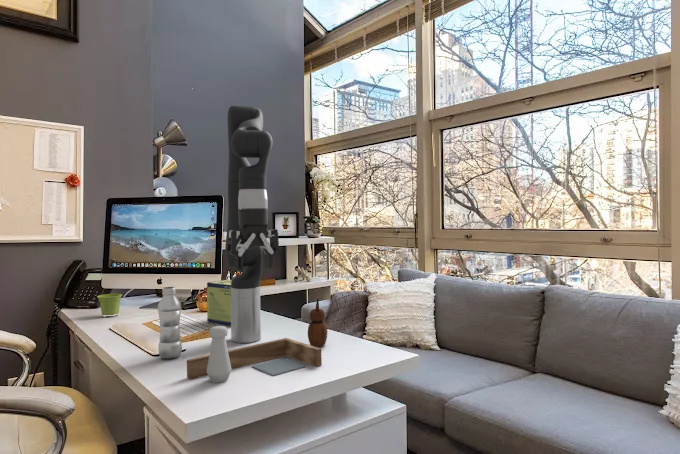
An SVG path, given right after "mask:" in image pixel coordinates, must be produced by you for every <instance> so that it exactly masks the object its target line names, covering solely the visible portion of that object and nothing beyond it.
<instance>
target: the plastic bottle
mask: <svg viewBox="0 0 680 454" xmlns="http://www.w3.org/2000/svg"><path fill="white" fill-rule="evenodd" d="M161 294H162V298H161V299H160V300H159V302H158V304H157V312H158V318H159V329H160V330H159V343H158V346H157V347H158V348H157V350H158V355H159V357H160V358H161V359H174V358H179V357H180V355H181V354H182V351H183V343H182V340H181V327H180V322H181V312H182V311H181V310H182V304H181V301H180V299H179V298H178V297H177V296H176V295H177V287H176V286H165V287H162V293H161Z"/></svg>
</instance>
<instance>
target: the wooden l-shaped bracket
mask: <svg viewBox="0 0 680 454" xmlns="http://www.w3.org/2000/svg"><path fill="white" fill-rule="evenodd" d="M228 354H229V359H230V364H231V370H233V369H236V368H240V367H244V366H248V365H253V364H257V363H262V362H264V361H265V362H266V361H268V360H269V361H270V360H272V359H277V358H280V357H281V358H282V357H283V356H284V357H289V358H290V359H294V360H297V361H299V362H303V363H306V364H307V365H308V364H309V365H311V366H314V367H316V368H318V367H321V366H322V364H323V363H322V360H323V359H322V348H320V347H314V346H312V345H311V344H307V343H305V342H300V341H297V340H295V339H290V338H287V337H284V338H281V339H280V338H279V339H275V340H271V341H266V342H261V343H257V344H252V345H247V346H243V347H239V348H234V349H230V350H228ZM209 355H210V354H207V355H202V356H197V357H193V358H189V359H188V358H187V359H186V378H187V379H188V380H194V379H196V378H201V377H206V376H208V375H207V366H208V360H209Z"/></svg>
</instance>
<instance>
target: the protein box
mask: <svg viewBox="0 0 680 454" xmlns="http://www.w3.org/2000/svg"><path fill="white" fill-rule="evenodd" d="M231 280H232V279H222V280H215V281H209V282H206V298H207V299H206V303H207V305H206V307H207V309H206V311H207V316H206V318H207V319H206V320H207V321H209V322H208V323H210V322H213V323H212V324H216V323H217V324H216V325H221V326H228V325H229V327H231V310H232V299H231ZM207 321H206V322H207Z"/></svg>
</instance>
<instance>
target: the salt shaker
mask: <svg viewBox="0 0 680 454" xmlns="http://www.w3.org/2000/svg"><path fill="white" fill-rule="evenodd" d="M208 336H209V337H210V338H211V345H210V349H209V354H208V355H209V360H208V366H207V375H206V376H207V377H208V378H209V381H210V382H211V383H214V384H215V383H216V384H219V383H225V382H226V381H228V379H229V378H230V375H231V372H232V369H231V364H230V359H229V354H228V351H229V350H228V345H227V340H226V337H228V328H227V327H226V325H216V326H213V327H212V326H211V327H210V329H209V331H208Z"/></svg>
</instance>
